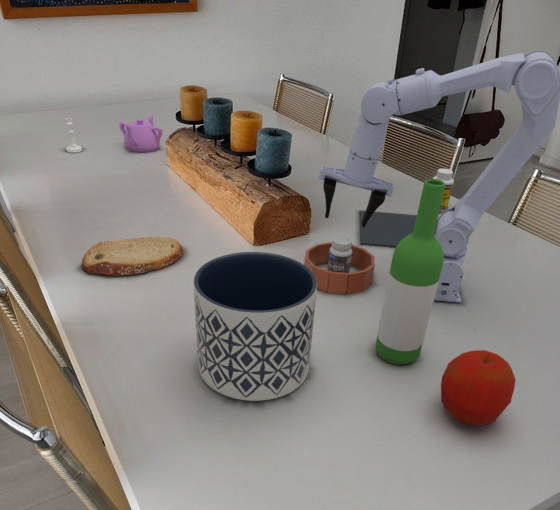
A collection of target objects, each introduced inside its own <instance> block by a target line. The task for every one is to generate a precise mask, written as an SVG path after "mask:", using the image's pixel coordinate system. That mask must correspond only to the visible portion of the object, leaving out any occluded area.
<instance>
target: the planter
mask: <svg viewBox="0 0 560 510" xmlns="http://www.w3.org/2000/svg"><path fill="white" fill-rule="evenodd" d="M317 290H318V289H317V281H316V278H315V276H314V274H313V273H312V272H311V270H310V269H309V268H307V267H306V266H305V265H304V264H303V263H302V262H300V261H298V260H296V259H294V258H292V257H288V256H285V255H282V254H277V253H271V252H264V251H263V252H261V251H241V252H234V253H228V254H224V255H221V256H217V257H214V258H213V259H210V260H209V261H207V262H206V263H204V264H203V265H201V266H200V267H199V269H198V270H197V271H196V272H195V274H194V277H193V298H194V299H193V301H194V316H195V317H194V318H195V333H196V349H197V350H196V351H197V364H198V371H199V374H200V376H201V378H202V380H203V381H204V382H205V384H206V385H208V387H210V388H211V389H212V390H214V391H216V392H217V393H219V394H221V395H223V396H225V397H228V398H232V399H236V400H241V401H252V402H256V401H257V402H258V401H259V402H260V401H261V402H262V401H268V400H273V399H277V398H282V397H283V396H286V395H288V394H290V393H292V392H294V391H295V390H296V389H298V388H299V387H300V386H301V385H302V384H303V383H304V382H305V380H306V379H307V377H308V374H309V370H310V369H309V368H310V362H311V351H312V341H313V332H314V331H313V330H314V323H315V322H314V321H315V314H316V313H315V312H316V301H317Z"/></svg>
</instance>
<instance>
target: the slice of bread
mask: <svg viewBox="0 0 560 510" xmlns="http://www.w3.org/2000/svg"><path fill="white" fill-rule="evenodd" d="M183 253H184V248H183V246H182V244H180V242H179V241H178V240H177V239H175V238H173V237H171V236H169V237H165V236H164V237H163V236H162V237H160V236H154V237H151V236H149V237H135V238H126V239H117V240H116V239H115V240H107V241H106V240H105V241H99V242H98V243H97V244H95V245H92V247H90V248H89V249H88V250H87V251H86V253H84V255H83V257H82V260H81V269H82V270H83V271H85V272H86V273H87V274H90V275H94V274H98V275H105V276H111V277H123V276H134V275H140V274H145V273H148V272H151V271H157V270H160V269H163V268H166V267H169V266H170V265H172V264H174V263H176V262H177V261H178V260H179V259H181V258H182V256H183Z"/></svg>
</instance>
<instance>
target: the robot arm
mask: <svg viewBox="0 0 560 510" xmlns="http://www.w3.org/2000/svg"><path fill="white" fill-rule="evenodd" d="M512 86H514V89H515V93H516V96H517V97H518V99H519V102H520V103H521V112H522V113H521V114H522V121H521V123H519V125H518V126H517V128H515V130H514V132H513V133H512V134H511V135H510V137H509V138H508V139H507V140H506V142H505V143H504V144H503V146H502V147H501V148H500V150H499V151H498V152H497V153H496V155H494V157H493V158H492V159H491V161H490V162H489V163H488V165H487V166H486V167H485V169H484V170H483V171H482V172H481V174H479V176H478V177H477V179H476V180H475V182H474V183H473V184H472V185H471V187H470V188H469V189H468V190H467V191H466V193H465V194H464V195H463V196H462V197H461V198H459V199H458V200H457V201H456V202H455V204H453V206H451V207H450V208H447V209H446V210H445V211H443V212H441V214H440V215H438V219H437V229H436V234H435V236H434V237H435V238H436V239H437V240H438V242H439V243H440V245H441V247H442V250H443V255H444V261H443V266H442V270H441V274H440V278H439V282H438V286H437V290H436V294H435V298H434V301H437V302H439V301H440V302H450V303H461V302H462V299H461V295H460V288H461V285H462V281H463V278H464V268H463V265H464V261H465V258H466V254H467V251H468V245H469V240H470V237H471V235H472V234H473V232H475V230H476V228H477V226H478V225H479V223H480V220H481V218H482V216H483V215H484V214H485V213H486V211H487V210H488V209H489V208H490V207H491V206H492V204H493V203H494V202H495V201H496V199H497V198H498V197H499V196H500V195H501V193H502V192H503V191H504V190H505V189H506V187H507V186H508V185H509V184H510V183H511V181H512V180H513V179H514V178H515V177H516V175H517V174H518V173H519V172H520V170H522V168H523V167H524V166H525V165H526V164H527V162H528V161H529V160H530V158H531V157H532V156H533V155H534V154H535V153H536V151H537V150H538V149H539V147H540V146H541V145H542V144H543V143H544V142H545V141H546V139H548V137H549V135H550V134H552V132H553V130H554V129H555V127H556V123H557V117H558V110H559V106H560V68H559V66H558V64H557V63H556V62H555V59H554V57H553V56H552V55H551V53H549V52H548V51H546V50H542V49H537V50H532V51H529V52H527V53H526V54H524V52H519V53H514V54H509V55H504V56H500V57H497V58H494V59H489V60H487V61H484V62H481V63H478V64H474V65H471V66H468V67H465V68H461V69H458V70H455V71H452V72H449V73H445V74H443V75H440V74H438V73H437V72H435V71H433V70H432V69H429V70H425V68H424V67H422V68H418V69H416V70H415V73H414V74H411V75H408V76H404V77H400V78H397V79H395V77H394V76H393V77H389V78H388V79H387V83H386V82H383V81H381V82H378V83H375V84H373V85H372V86H370V88H369V89H368V90H367V91H366V92H365V93H364V95H363V97H362V99H361V102H360V111H361V112H360V114H359V117H358V122H357V124H356V126H355V130H354V134H353V137H352V141H351V143H350V148H349V152H348V155H347V159H346V163H345V166H344V168H338V167H337V168H335V167H328V166H322V165H321V167H320V173H319V176H318V180H321V181H323V183H322V185H323V186H322V187H323V193H324V198H325V212H324V214H325V215H324V218H326V219H329V217H330V214H331V207H332V203H333V199H334V196H335V192H336V188H337V183H338V184H343V185H347V186H351V187H354V188H359V189H363V190H367V191H370V196H369V199H368V203H367V205H366V209H365V210H364V211H365V214H364V216H363V219H362V227H365V226H366V224H367V222H368V220H369V219H370V217H371V216H372V214H373V213H374V212H377V210H378V209H379V208H380V206H382V205H383V204H384V202H385V200H386V196H387V197H392V195H393V193H394V189H395V183H392V182H390V181H386V180H383V179H380V178H378V177H375V173H376V169H377V166H378V163H379V160H380V156H381V153H382V151H383V147H384V144H385V140H386V138H387V133H388V132H387V131H388V130H387V129H388V127H389V123H390V119H391V118H392V116H403V115H407V114H412V113H415V112H419V111H420V112H421V111H423V110H427V109H431V108H434V107H436V106H437V105H438V104H439V102H440V100H441V99H442V98H443V97H446V96H450V95H455V94H460V93H464V92H470V91H474V90H479V89H482V88H488V87H493V88H496V89H498V90H501V91H503V92H505V93H508V94H510V92H511V88H512Z"/></svg>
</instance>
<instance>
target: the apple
mask: <svg viewBox="0 0 560 510" xmlns="http://www.w3.org/2000/svg"><path fill="white" fill-rule="evenodd" d="M516 380H517V379H516V377H515V374H514V371H513V368H512V367H511V365H510V363H509V362H508V360H506V359H505V358H504V357H502V356H501V355H499V354H497V353H495V352H492V351H488V350H485V349H478V350H468V351H465V352H462V353H460V354H459V355H458V356H456V357H454V358H453V359H452V360H450V361H449V362H448V363H447V365H446V368H445V370H444V372H443V375H442V377H441V382H440V401H441V404H442V405H443V408H444V409H445V410H446V411H447V412H448V413H449V415H450V416H452V417H453V418H454V419H455V420H456V421H458V422H461V423H462V424H466V425H471V426H477V425H479V426H480V425H482V426H483V425H484V426H485V425H488V424H491V423H495V422H496V421H497V419H498V418H500V416H501V414H502V413H503V412H504V411H506V409H507V408H508V406H510V404H511V402H512V399H513V395H514V390H515V386H516Z"/></svg>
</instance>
